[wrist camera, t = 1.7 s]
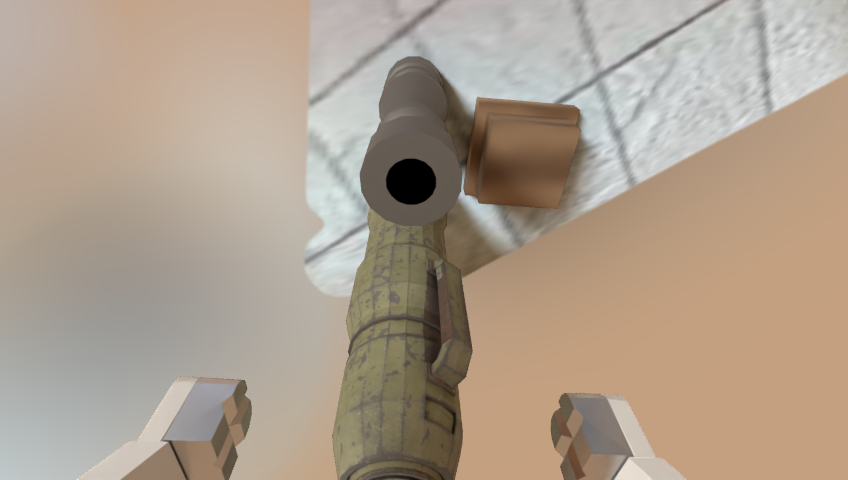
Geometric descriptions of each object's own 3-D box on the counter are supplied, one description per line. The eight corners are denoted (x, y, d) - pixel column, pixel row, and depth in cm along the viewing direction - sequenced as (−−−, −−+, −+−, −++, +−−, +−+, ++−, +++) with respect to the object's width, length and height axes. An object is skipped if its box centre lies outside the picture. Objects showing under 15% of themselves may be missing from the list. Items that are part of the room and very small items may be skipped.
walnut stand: (476, 97, 43) (484, 111, 38) (573, 105, 44) (594, 120, 39) (463, 187, 49) (468, 210, 44) (549, 194, 50) (563, 217, 45)
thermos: (464, 177, 49) (538, 468, 19) (412, 244, 54) (407, 554, 24) (404, 138, 46) (380, 408, 16) (355, 212, 51) (270, 519, 22)
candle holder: (405, 43, 40) (391, 102, 19) (453, 78, 42) (490, 166, 21) (375, 95, 43) (335, 197, 22) (422, 126, 45) (426, 247, 24)
